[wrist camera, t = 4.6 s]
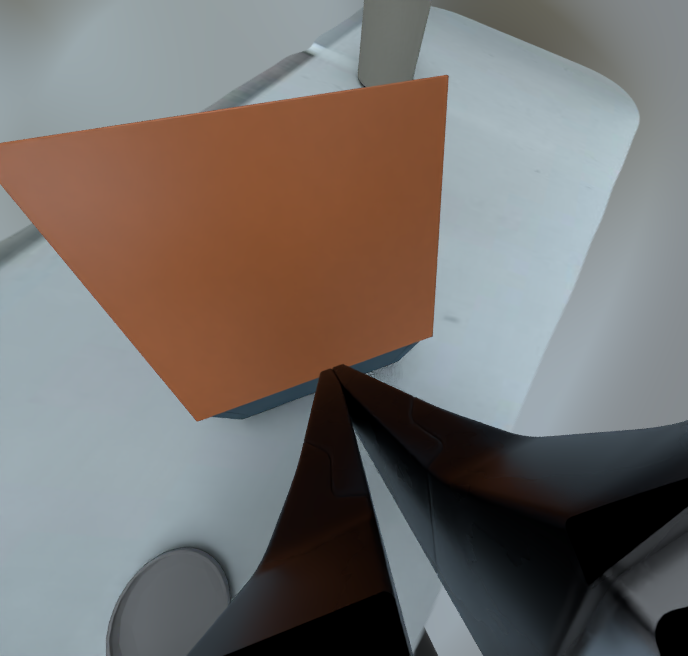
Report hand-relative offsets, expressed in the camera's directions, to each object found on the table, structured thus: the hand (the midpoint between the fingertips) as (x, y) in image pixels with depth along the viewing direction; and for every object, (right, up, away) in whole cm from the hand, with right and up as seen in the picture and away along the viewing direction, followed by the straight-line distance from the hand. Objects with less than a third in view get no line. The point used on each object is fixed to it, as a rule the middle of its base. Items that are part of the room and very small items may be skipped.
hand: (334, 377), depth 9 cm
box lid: (-2, +4, +2) cm, 5 cm away
